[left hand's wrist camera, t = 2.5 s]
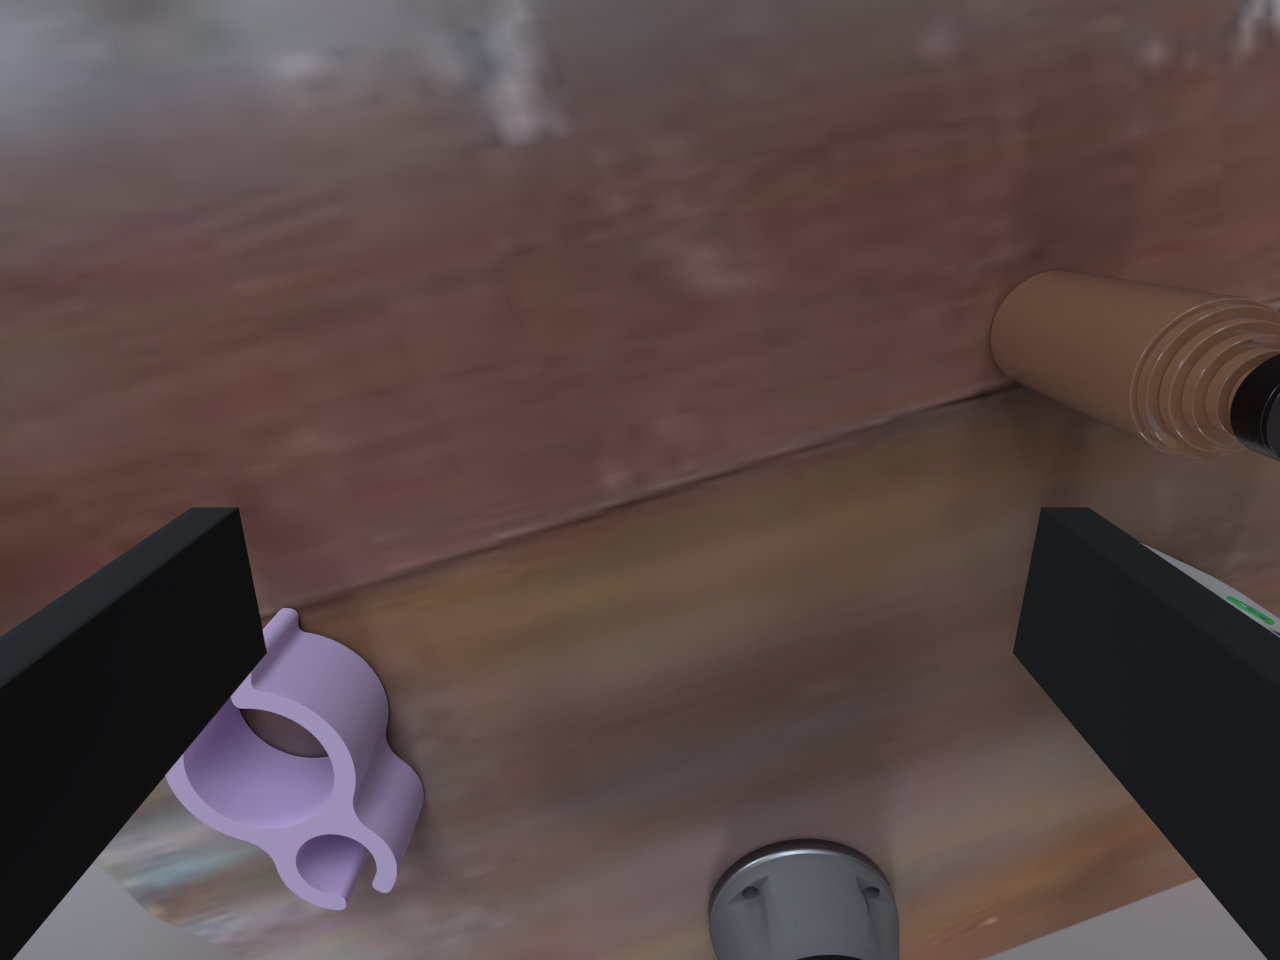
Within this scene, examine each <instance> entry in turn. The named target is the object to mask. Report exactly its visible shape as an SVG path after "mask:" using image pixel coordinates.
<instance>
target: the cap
mask: <svg viewBox="0 0 1280 960" xmlns="http://www.w3.org/2000/svg"><path fill="white" fill-rule="evenodd" d="M1230 423H1231V427H1232V430H1233V433H1234V435H1235V436H1236V438H1237V439H1238V440H1239V441H1240V443H1241V444H1243V445H1244V446H1245V447H1247V448H1249V449H1250V450H1253V451H1255V452H1257V453H1260V454H1262V455H1265V456H1267V457H1270V458H1272V459H1275V460H1277V461H1280V354H1278V355H1276V356H1274V357H1271V358H1269V359H1268V360H1266V361H1264V362H1263V363H1261V364H1260V365H1258V366H1257V367H1256V368H1255V369H1254V370H1252V371H1251V372H1250V373H1249V374H1248V375H1247V376H1246V378H1245V379H1244V380H1243V382H1242V383H1241V384H1240V386H1239V388H1238V389H1237V391H1236V393H1235V395H1234V398H1233V401H1232V404H1231V409H1230Z"/></svg>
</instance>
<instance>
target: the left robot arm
mask: <svg viewBox="0 0 1280 960" xmlns="http://www.w3.org/2000/svg"><path fill="white" fill-rule="evenodd" d="M266 654H267V650H266V645H265V640H264V635H263V630H262V625H261V619H260V614H259V609H258V604H257V599H256V594H255V589H254V584H253V579H252V574H251V569H250V564H249V558H248V553H247V548H246V543H245V538H244V533H243V528H242V523H241V518H240V513H239V508H190V509H189V510H187V511H186V512H184V513H183V514H182V515H180V516H179V517H177V518H176V519H174V520H173V521H171V522H170V523H168V524H167V525H165V526H164V527H162V528H161V529H159V530H158V531H156V532H155V533H154V534H152V535H151V536H149V537H148V538H146V539H145V540H143V541H142V542H140V543H139V544H137V545H136V546H134V547H133V548H131V549H130V550H128V551H127V552H125V553H124V554H123V555H121V556H120V557H118V558H117V559H115V560H114V561H112V562H111V563H109V564H108V565H106V566H105V567H103V568H102V569H100V570H99V571H97V572H96V573H95V574H93V575H92V576H90V577H89V578H87V579H86V580H84V581H83V582H81V583H80V584H78V585H77V586H75V587H74V588H72V589H71V590H69V591H68V592H66V593H65V594H64V595H62V596H61V597H59V598H58V599H56V600H55V601H53V602H52V603H50V604H49V605H47V606H46V607H44V608H43V609H41V610H40V611H38V612H37V613H36V614H34V615H33V616H31V617H30V618H28V619H27V620H25V621H24V622H22V623H21V624H19V625H18V626H16V627H15V628H13V629H12V630H10V631H9V632H7V633H6V634H5V635H3V636H2V637H0V960H12V959H13V958H14V957H15V956H16V955H17V953H18V952H19V951H20V950H21V949H22V947H23V946H24V945H25V944H26V943H27V941H28V940H29V939H30V938H31V936H32V935H33V934H34V933H35V932H36V930H37V929H38V928H39V927H40V926H41V924H42V923H43V922H44V921H45V920H46V918H47V917H48V916H49V915H50V914H51V912H52V911H53V910H54V909H55V908H56V906H57V905H58V904H59V903H60V902H61V900H62V899H63V898H64V897H65V896H66V894H67V893H68V892H69V891H70V890H71V888H72V887H73V886H74V885H75V884H76V882H77V881H78V880H79V879H80V877H81V876H82V875H83V874H84V873H85V871H86V870H87V869H88V868H89V867H90V865H91V864H92V863H93V862H94V861H95V859H96V858H97V857H98V856H99V855H100V853H101V852H102V851H103V850H104V849H105V847H106V846H107V845H108V844H109V843H110V841H111V840H112V839H113V838H114V837H115V835H116V834H117V833H118V832H119V831H120V829H121V828H122V827H123V826H124V825H125V823H126V822H127V821H128V820H129V819H130V817H131V816H132V815H133V814H134V812H135V811H136V810H137V809H138V808H139V806H140V805H141V804H142V803H143V802H144V800H145V799H146V798H147V797H148V796H149V794H150V793H151V792H152V791H153V790H154V788H155V787H156V786H157V785H158V784H159V782H160V781H161V780H162V779H163V778H164V776H165V775H166V774H167V773H168V772H169V770H170V769H171V768H172V767H173V766H174V764H175V763H176V762H177V761H178V760H179V758H180V757H181V756H182V755H183V753H184V752H185V751H186V750H187V749H188V747H189V746H190V745H191V744H192V743H193V741H194V740H195V739H196V738H197V737H198V735H199V734H200V733H201V732H202V731H203V729H204V728H205V727H206V726H207V725H208V723H209V722H210V721H211V720H212V719H213V717H214V716H215V715H216V714H217V713H218V711H219V710H220V709H221V708H222V707H223V705H224V704H225V703H226V702H227V700H228V699H229V698H230V697H231V696H232V694H233V693H234V692H235V691H236V690H237V688H238V687H239V686H240V685H241V684H242V682H243V681H244V680H245V679H246V678H247V676H248V675H249V674H250V673H251V672H252V670H253V669H254V668H255V667H256V666H257V664H258V663H259V662H260V661H261V660H262V658H263V657H264V656H265V655H266ZM1013 654H1014V655H1015V656H1016V657H1017V658H1018V660H1019V661H1020V662H1021V663H1022V664H1023V666H1024V667H1025V668H1026V669H1027V670H1028V672H1029V673H1030V674H1031V675H1032V676H1033V678H1034V679H1035V680H1036V681H1037V682H1038V684H1039V685H1040V686H1041V687H1042V688H1043V690H1044V691H1045V692H1046V693H1047V694H1048V696H1049V697H1050V698H1051V699H1052V700H1053V702H1054V703H1055V704H1056V705H1057V707H1058V708H1059V709H1060V710H1061V711H1062V713H1063V714H1064V715H1065V716H1066V717H1067V719H1068V720H1069V721H1070V722H1071V723H1072V725H1073V726H1074V727H1075V728H1076V729H1077V731H1078V732H1079V733H1080V734H1081V735H1082V737H1083V738H1084V739H1085V740H1086V741H1087V743H1088V744H1089V745H1090V746H1091V747H1092V749H1093V750H1094V751H1095V752H1096V753H1097V755H1098V756H1099V757H1100V758H1101V760H1102V761H1103V762H1104V763H1105V764H1106V766H1107V767H1108V768H1109V769H1110V770H1111V772H1112V773H1113V774H1114V775H1115V776H1116V778H1117V779H1118V780H1119V781H1120V782H1121V784H1122V785H1123V786H1124V787H1125V788H1126V790H1127V791H1128V792H1129V793H1130V794H1131V796H1132V797H1133V798H1134V799H1135V800H1136V802H1137V803H1138V804H1139V805H1140V806H1141V808H1142V809H1143V810H1144V811H1145V812H1146V814H1147V815H1148V816H1149V817H1150V819H1151V820H1152V821H1153V822H1154V823H1155V825H1156V826H1157V827H1158V828H1159V829H1160V831H1161V832H1162V833H1163V834H1164V835H1165V837H1166V838H1167V839H1168V840H1169V841H1170V843H1171V844H1172V845H1173V846H1174V847H1175V849H1176V850H1177V851H1178V852H1179V853H1180V855H1181V856H1182V857H1183V858H1184V859H1185V861H1186V862H1187V863H1188V864H1189V865H1190V867H1191V868H1192V869H1193V870H1194V872H1195V873H1196V874H1197V875H1198V876H1199V878H1200V879H1201V880H1202V881H1203V882H1204V884H1205V885H1206V886H1207V887H1208V888H1209V890H1210V891H1211V892H1212V893H1213V894H1214V896H1215V897H1216V898H1217V899H1218V900H1219V902H1220V903H1221V904H1222V905H1223V906H1224V908H1225V909H1226V910H1227V911H1228V912H1229V914H1230V915H1231V916H1232V917H1233V918H1234V920H1235V921H1236V922H1237V923H1238V925H1239V926H1240V927H1241V928H1242V929H1243V931H1244V932H1245V933H1246V934H1247V935H1248V937H1249V938H1250V939H1251V940H1252V941H1253V943H1254V944H1255V945H1256V946H1257V947H1258V948H1259V950H1260V951H1261V952H1262V953H1263V955H1264V956H1265V957H1266V958H1267V959H1268V960H1280V637H1278V636H1277V635H1275V634H1274V633H1273V632H1271V631H1270V630H1268V629H1267V628H1265V627H1264V626H1262V625H1261V624H1259V623H1258V622H1256V621H1255V620H1253V619H1252V618H1250V617H1249V616H1247V615H1246V614H1244V613H1243V612H1242V611H1240V610H1239V609H1237V608H1236V607H1234V606H1233V605H1231V604H1230V603H1228V602H1227V601H1225V600H1224V599H1222V598H1221V597H1219V596H1218V595H1216V594H1215V593H1214V592H1212V591H1211V590H1209V589H1208V588H1206V587H1205V586H1203V585H1202V584H1200V583H1199V582H1197V581H1196V580H1194V579H1193V578H1191V577H1190V576H1188V575H1187V574H1185V573H1184V572H1183V571H1181V570H1180V569H1178V568H1177V567H1175V566H1174V565H1172V564H1171V563H1169V562H1168V561H1166V560H1165V559H1163V558H1162V557H1160V556H1159V555H1157V554H1156V553H1155V552H1153V551H1152V550H1150V549H1149V548H1147V547H1146V546H1144V545H1143V544H1141V543H1140V542H1138V541H1137V540H1135V539H1134V538H1132V537H1131V536H1129V535H1128V534H1126V533H1125V532H1124V531H1122V530H1121V529H1119V528H1118V527H1116V526H1115V525H1113V524H1112V523H1110V522H1109V521H1107V520H1106V519H1104V518H1103V517H1101V516H1100V515H1098V514H1097V513H1096V512H1094V511H1093V510H1091V509H1090V508H1041V513H1040V518H1039V523H1038V528H1037V533H1036V538H1035V543H1034V548H1033V553H1032V558H1031V564H1030V569H1029V574H1028V579H1027V584H1026V589H1025V594H1024V599H1023V604H1022V609H1021V614H1020V619H1019V625H1018V630H1017V635H1016V640H1015V645H1014V650H1013ZM708 915H709V927H710V935H711V940H712V943H713V947H714V950H715V953H716V956H717V958H718V960H899V918H898V912H897V906H896V902H895V899H894V896H893V894H892V891H891V888H890V885H889V883H888V881H887V879H886V877H885V875H884V874H883V872H882V871H881V870H880V868H879V867H878V866H877V865H876V864H875V863H874V862H873V861H872V860H870V859H869V858H868V857H867V856H865V855H864V854H862V853H860V852H859V851H857V850H855V849H853V848H850V847H848V846H845V845H842V844H839V843H835V842H831V841H826V840H817V839H797V840H788V841H783V842H778V843H774V844H771V845H768V846H765V847H762V848H760V849H758V850H755V851H753V852H751V853H749V854H748V855H746V856H744V857H743V858H741V859H740V860H738V861H737V862H736V863H734V864H733V865H732V866H731V867H730V868H729V869H728V870H727V871H726V872H725V873H724V874H723V875H722V877H721V878H720V879H719V881H718V882H717V884H716V886H715V888H714V890H713V892H712V895H711V898H710V902H709V909H708Z"/></svg>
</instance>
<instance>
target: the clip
mask: <svg viewBox="0 0 1280 960" xmlns="http://www.w3.org/2000/svg"><path fill="white" fill-rule="evenodd" d="M298 620H299V615H298V613H297V612H296V611H295V610H293V609H290V608H283V609H281V610H280V611H279V612H278V613H277V614H276V615H275V617H274V618H273V619H272V620H271V621H270V622H269V623H268V624H267V626H266V627H265V628H264V629H263V635H264V640H265V645H266V650H267V654H266V655H265V656H264V657H263V658H262V660H261V661H260V662H259V663H258V664H257V666H256V667H255V668H254V669H253V670H252V672H251V673H250V674H249V675H248V676H247V678H246V679H245V680H244V681H243V682H242V684H241V685H240V686H239V687H238V688H237V690H236V691H235V692H234V693H233V694H232V696H231V697H230V698H229V699H228V700H227V702H226V703H225V704H224V705H223V707H222V708H221V709H220V710H219V711H218V713H217V714H216V715H215V716H214V717H213V719H212V720H211V721H210V722H209V723H208V725H207V726H206V727H205V728H204V729H203V731H202V732H201V733H200V734H199V735H198V737H197V738H196V739H195V740H194V741H193V743H192V744H191V745H190V746H189V747H188V749H187V750H186V751H185V752H184V753H183V755H182V756H181V757H180V758H179V760H178V761H177V762H176V763H175V764H174V766H173V767H172V768H171V769H170V770H169V772H168V773H167V774H166V775H165V776H166V778H167V781H168V783H169V785H170V787H171V789H172V791H173V792H174V794H175V795H176V797H177V798H178V799H179V800H180V802H181V803H182V804H183V805H184V806H185V807H186V808H187V809H188V810H189V811H190V812H191V813H192V814H193V815H194V816H196V817H197V818H198V819H200V820H201V821H202V822H204V823H205V824H207V825H208V826H210V827H212V828H214V829H216V830H217V831H219V832H222V833H224V834H226V835H229V836H231V837H234V838H237V839H241V840H244V841H247V842H250V843H253V844H255V845H257V846H258V847H260V848H262V849H263V850H264V851H265V852H267V853H268V854H269V855H270V857H271V858H272V859H273V861H274V863H275V865H276V867H277V870H278V873H279V875H280V877H281V879H282V880H283V882H284V883H285V884H286V885H287V887H288V888H289V889H290V890H291V891H292V892H294V893H295V894H296V895H297V896H299V897H300V898H302V899H304V900H305V901H307V902H309V903H312V904H314V905H317V906H320V907H323V908H327V909H333V910H343V909H345V908H346V906H347V903H348V901H349V898H350V896H351V894H352V891H353V889H354V886H355V884H356V882H357V879H358V877H359V874H360V872H361V870H362V867H363V865H364V862H365V860H366V858H367V855H368V853H369V851H370V852H371V854H372V855H373V857H374V859H375V861H376V865H377V873H376V875H375V878H374V880H373V883H372V886H373V887H374V889H376V890H377V891H379V892H382V893H387V892H389V891H390V890H391V889H392V887H393V885H394V883H395V881H396V878H397V875H398V872H399V869H400V867H401V864H402V861H403V858H404V856H405V853H406V850H407V847H408V845H409V842H410V839H411V836H412V833H413V831H414V828H415V825H416V822H417V820H418V817H419V814H420V811H421V809H422V806H423V801H424V791H423V787H422V784H421V781H420V779H419V777H418V776H417V774H416V773H415V771H414V770H413V769H412V768H411V767H410V766H409V765H408V764H407V763H405V762H404V761H403V760H401V759H400V758H398V757H397V756H396V755H395V754H394V753H393V752H392V750H391V749H390V747H389V745H388V743H387V740H386V728H387V724H388V715H389V709H388V701H387V697H386V693H385V691H384V688H383V686H382V684H381V682H380V680H379V678H378V677H377V675H376V674H375V672H374V671H373V670H372V668H371V667H370V666H369V665H368V664H367V663H366V662H365V661H364V660H363V659H362V658H361V657H360V656H358V655H357V654H356V653H355V652H353V651H352V650H350V649H349V648H347V647H346V646H344V645H342V644H340V643H338V642H336V641H334V640H332V639H329V638H326V637H324V636H320V635H317V634H313V633H307V632H303V631H302V630H301V629H300V628H299V626H298ZM239 708H242V709H259V710H265V711H270V712H274V713H277V714H280V715H282V716H285V717H287V718H289V719H291V720H293V721H295V722H297V723H298V724H300V725H302V726H303V727H304V728H306V729H307V730H308V731H309V732H311V733H312V734H313V735H314V736H315V737H316V738H317V739H318V740H319V742H320V743H321V744H322V745H323V747H324V748H325V750H326V752H327V753H328V755H329V756H328V757H321V758H306V757H298V756H294V755H290V754H287V753H284V752H282V751H279V750H277V749H275V748H273V747H271V746H270V745H268V744H267V743H265V742H264V741H262V740H261V739H260V738H259V737H258V736H256V735H255V734H254V733H253V731H252V730H251V729H250V728H249V727H248V725H247V724H246V722H245V721H244V719H243V717H242V715H241V712H240V710H239Z"/></svg>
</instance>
